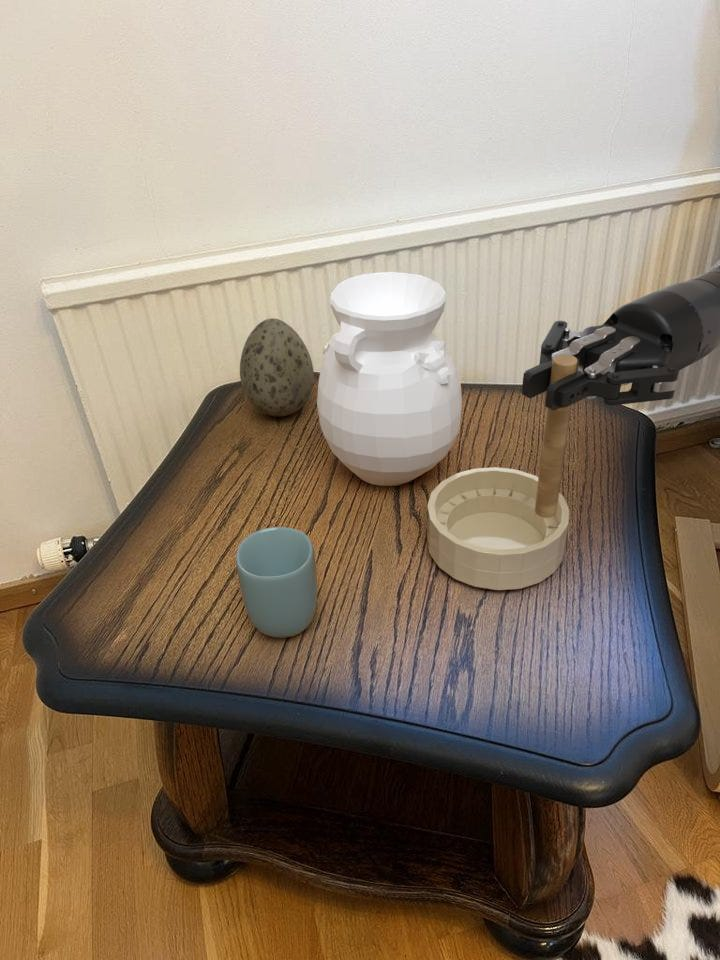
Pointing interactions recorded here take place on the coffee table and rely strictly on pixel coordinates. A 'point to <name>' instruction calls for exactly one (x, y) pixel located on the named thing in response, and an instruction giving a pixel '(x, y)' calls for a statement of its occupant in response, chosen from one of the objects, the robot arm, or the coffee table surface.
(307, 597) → the cup
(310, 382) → the decorative egg
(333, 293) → the white vase
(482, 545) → the bowl
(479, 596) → the coffee table surface
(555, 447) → the stick
